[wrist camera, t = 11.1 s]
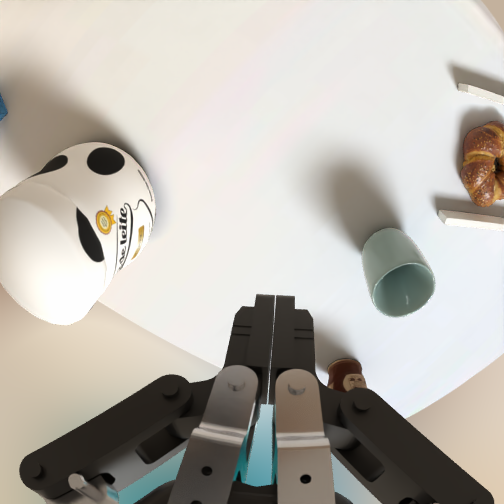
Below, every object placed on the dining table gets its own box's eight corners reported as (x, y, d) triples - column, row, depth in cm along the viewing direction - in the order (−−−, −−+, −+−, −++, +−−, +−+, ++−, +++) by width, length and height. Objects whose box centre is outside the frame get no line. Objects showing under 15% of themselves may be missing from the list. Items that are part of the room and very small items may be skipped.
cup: (393, 208, 38) (419, 249, 29) (419, 249, 40) (445, 294, 32) (345, 241, 41) (358, 288, 32) (375, 278, 43) (390, 327, 35)
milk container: (180, 240, 44) (128, 334, 28) (86, 255, 47) (25, 330, 32) (142, 119, 35) (48, 162, 20) (47, 156, 38) (-41, 209, 23)
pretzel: (498, 210, 36) (510, 222, 32) (443, 190, 36) (455, 201, 33) (524, 136, 29) (539, 144, 26) (470, 106, 29) (485, 111, 26)
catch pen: (458, 83, 28) (468, 84, 26) (545, 115, 26) (556, 119, 24) (437, 216, 37) (444, 224, 35) (521, 226, 36) (529, 234, 33)
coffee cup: (347, 346, 51) (355, 411, 40) (376, 364, 53) (387, 424, 42) (312, 370, 55) (313, 432, 44) (342, 386, 57) (346, 443, 46)
